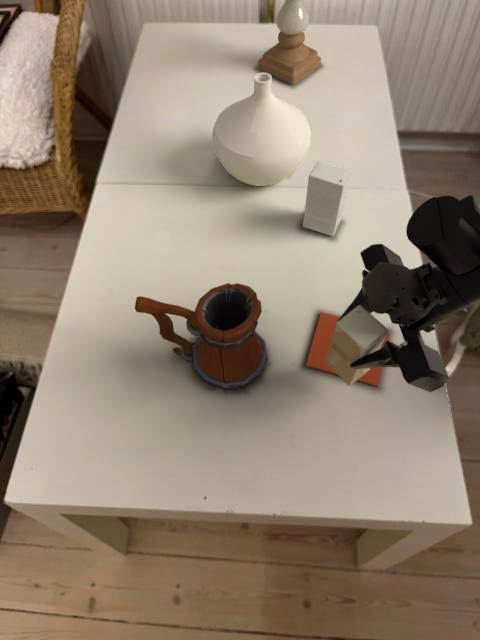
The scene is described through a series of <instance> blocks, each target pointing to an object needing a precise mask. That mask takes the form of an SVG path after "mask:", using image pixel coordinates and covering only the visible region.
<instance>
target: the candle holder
mask: <svg viewBox="0 0 480 640" xmlns="http://www.w3.org/2000/svg"><path fill="white" fill-rule="evenodd" d="M275 24H276V27H277V28H278V30H279V32H278V35H277V41H278V42H277V43H276V44H275V45H273V46H272V47H270V48H269V49H268V50H266V51H265V52H264V53H263V55H262V57H261V58H260V59H259V60H257V69H258V70H260V71H261V72H264V73H268V74H270V75H271V76H272V77H274V78H276V79H278V80H280V81H282V82H285V83H286V84H289V85H292V86H294V85H296V84H298V83H299V82H300V81H302V80H303V79H304V78H306V77H307V76H309V75H310V74H311V73H313V72H314V71H315V70H317V69H318V68H319V67H320V66H321V63H322V57H321V56H320V55H318V51H317V50H316V49H314V48H312V47H310V46H307V45H306V44H305V39H306V34H305V31H306V30H307V29H308V27H309V24H310V14H309V12H308V9H307V8H306V5H305V3H304V0H284V2H283V4H282V6H281V7H280V8H279V10H278V12H277V14H276V17H275ZM320 61H321V62H320ZM319 62H320V63H319ZM318 63H319V64H318ZM314 66H315V67H314Z"/></svg>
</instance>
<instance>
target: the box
mask: <svg viewBox="0 0 480 640" xmlns="http://www.w3.org/2000/svg"><path fill="white" fill-rule="evenodd" d="M388 330H389V329H388V328H387V327H386V326H385V325H384V324H383V323H382V322H380V321H379V320H378V319H377V318H376V317H375V316H374V315H372V313H369V312H368V311H366V310H365V309H364V308H363V307H362V306H361V305H358V306H357V307H356V308H354V309H353V310H352V311H350V312H349V313H348V314H346V315H345V316H344V317H343V318H342V319H340V320H339V321H338V322H337V324H336V327H335V330H334V334H333V337H332V340H331V344H330V347H329V350H328V353H327V357H326V360H325V362H326V364H327V365H328V366H329V367H330V368H331V369H332V370H333V371H334V372H335V373H336V374H337V375H336V376H338V377H339V378H340V379H341V380H342V381H343V382H344V383H345V384H346V385H347V386H349V387H350V386H351V385H353V384H354V383H355V382H358V381H357V380H358V379H359V378H360V377H362V376H363V375H364V374H365V373H366V372H368V371H369V370H370V368H365V369H353V368H351V367H350V364H352V363H353V362H355V361H356V360H358V359H360V358H362V357H364V356H366V355H368V354H371V353H373V352H375V351H377V350H379V349H380V347H381V345H382V343H383V341H384V339H385V337H386V335H387V333H388Z"/></svg>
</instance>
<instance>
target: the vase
mask: <svg viewBox="0 0 480 640" xmlns="http://www.w3.org/2000/svg"><path fill="white" fill-rule="evenodd" d="M272 81H273V76H272V75H270V74H268V73H266V72H264V71H261V72H258V73H256V74H255V75H254V77H253V93H252V94H250V95H249V96H247V97H246V98H244V99H241V100H238V101H236V102H234V103H232V104H230V105H229V106H227V107H225V108H224V109H223V110H222V111H221V112H220V113H219V114H218V115H217V116H218V117H217V118H216V120H215V122H214V125H213V127H212V136H211V137H212V138H211V139H212V146H213V149H214V153H215V155H216V157H217V158H218V160H219V162H220V163H221V165H222V166H223V168H224V169H225V171H226V172H227V173H228V174H230V175H231V176H232V177H234V178H235V179H236V180H238V181H239V182H242V183H244V184H246V185H250V186H255V187H266V186H271V185H275V184H278V183H281V182H282V181H284V180H285V179H287V178H288V177H290V176H292V175H293V174H294V173H295V172H296V171H297V170H298V168H299V167H300V166H301V165H302V163H303V161H304V160H305V158H306V157H307V155H308V153H309V150H310V148H311V147H310V146H311V140H312V133H311V127H310V124H309V121H308V118H307V116H306V115H305V113H304V112H303V111H302V110H301V109H299V107H297V106H295V105H293V104H292V103H290V102H288V101H285V100H283V99H282V98H279V97H277V96H275V95H274V93H273V91H272V83H273V82H272Z"/></svg>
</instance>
